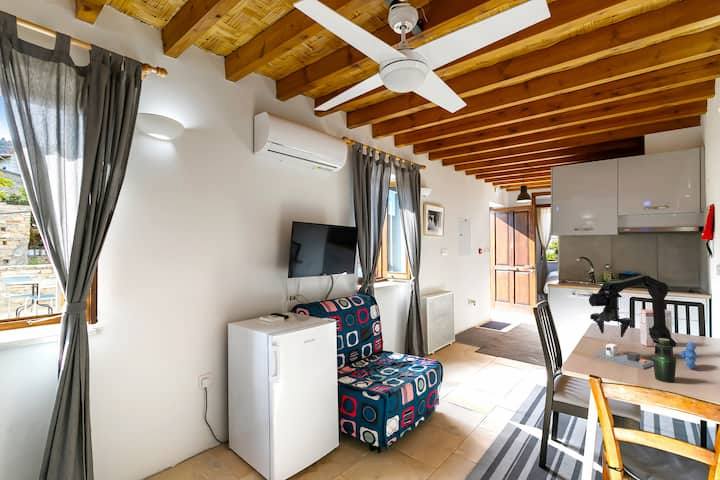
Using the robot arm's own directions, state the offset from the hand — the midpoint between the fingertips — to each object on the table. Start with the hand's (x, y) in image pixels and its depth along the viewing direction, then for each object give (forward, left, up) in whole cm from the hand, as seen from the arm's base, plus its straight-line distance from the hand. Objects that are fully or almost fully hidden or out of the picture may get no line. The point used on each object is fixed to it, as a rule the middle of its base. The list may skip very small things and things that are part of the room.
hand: (611, 335), depth 189 cm
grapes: (-26, -15, -12) cm, 33 cm away
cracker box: (-2, -44, -12) cm, 46 cm away
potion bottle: (-27, +13, -12) cm, 32 cm away
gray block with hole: (-5, +1, -12) cm, 13 cm away
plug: (0, +1, -12) cm, 12 cm away
